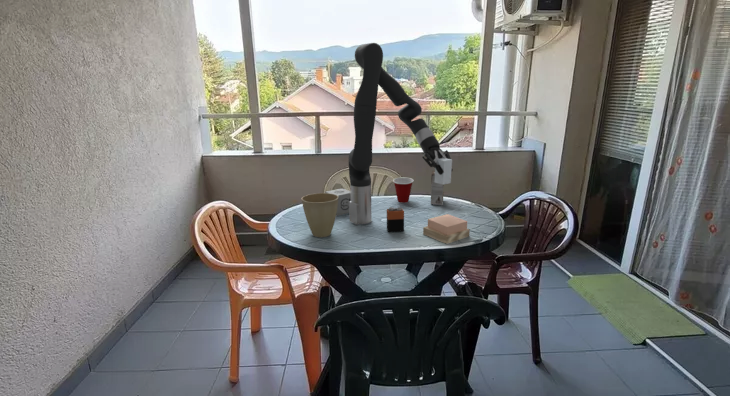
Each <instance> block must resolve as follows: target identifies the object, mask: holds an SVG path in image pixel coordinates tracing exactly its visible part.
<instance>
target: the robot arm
mask: <svg viewBox="0 0 730 396" xmlns="http://www.w3.org/2000/svg"><path fill="white" fill-rule="evenodd" d="M354 60H355V62H356V63H357V64H358V66H360V68H361V69H362V70H363V73H362V78H361V79H362V80H361V84H360V85H359V89H358V90H357V93H356V95H355V99H354V106H353V125H354V126H353V127H354V135H355V136H354V137H355V138H354V145H353V146H354V147H353V149H352V150H351V151H350V152H349V154H348V177H349V184H350V186H349V187H350V190H349V191H351V201H349V213H348V214H349V215H348V216H349V218H348V219H349V220H348V221H349V222H350V223H353V224H354V225H356V226H358V225H368V224H370V223H372V220H373V219H372V178H371V174H370V168H371V165H372V163H373V136H374V131H375V130H374V129H375V122H376V115H377V107H378V106H377V104H378V103H377V102H378V95H379V94H378V92H379V87H380V88H381V90H382V91H383V92H384V93H385V94H386V96H387V97H388V98H389V100H390V101H391V102H392V104H393V105H394V106H395V107H400V106H402V107H401V108H399V109H398V112H397V115H398V119H399V120H400V121H401V122H403V124H405V125H406V126H407V127H408V128H409V130H411V132H412V134H413V136H414V137H415V139H416V142H417V143H418V145H419V146H420V149H421V150H422V152H423V155H422V159H423V160H424V161H425V162H426V164H427V165H428V166H429V167H430V168H434V169H435V168H436V170H437V172H438V173H439V174H440V175H442V174H443V173H444V171H443V169H442V168H441V166H440V165H439V162H438V161H437V160H438V159H440V158H446V159H451V156H450V153H449V151H448V150H447V149H446V150H444V151H443V150H442V149H441V147H440V142H439V140H438V139H437V137H436V136H435V135H434V132H433V131H432V130H431V129H430V127H429V126H428V124H427V123H426V121H425V120H424V118H418V119H417V117H419V116H420V115H421V114H422V109H423V108H422V106H421V105H420V104H419V103H418V102H417V101H416V100H415V99H413V98H412V97H411V96H410V95H408V94H407V92H406V91H405V89H404V88H403V87H402V85H401V84H400V83H399V81H397V80H396V79H395V78H394V77H393V76H392V75H391V74H390V73H388V72H387V71H386V70H385V69H384V68H383V67H382V66H383V61H384V53H383V48H382V47H381V44H379V43H378V42H368V43H363V44H361V45H359V46H357V47H356V49H355V50H354ZM403 105H404V106H403ZM414 119H415V120H414ZM435 162H436V163H435ZM452 172H453V168H452V170H451V173H452Z"/></svg>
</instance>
